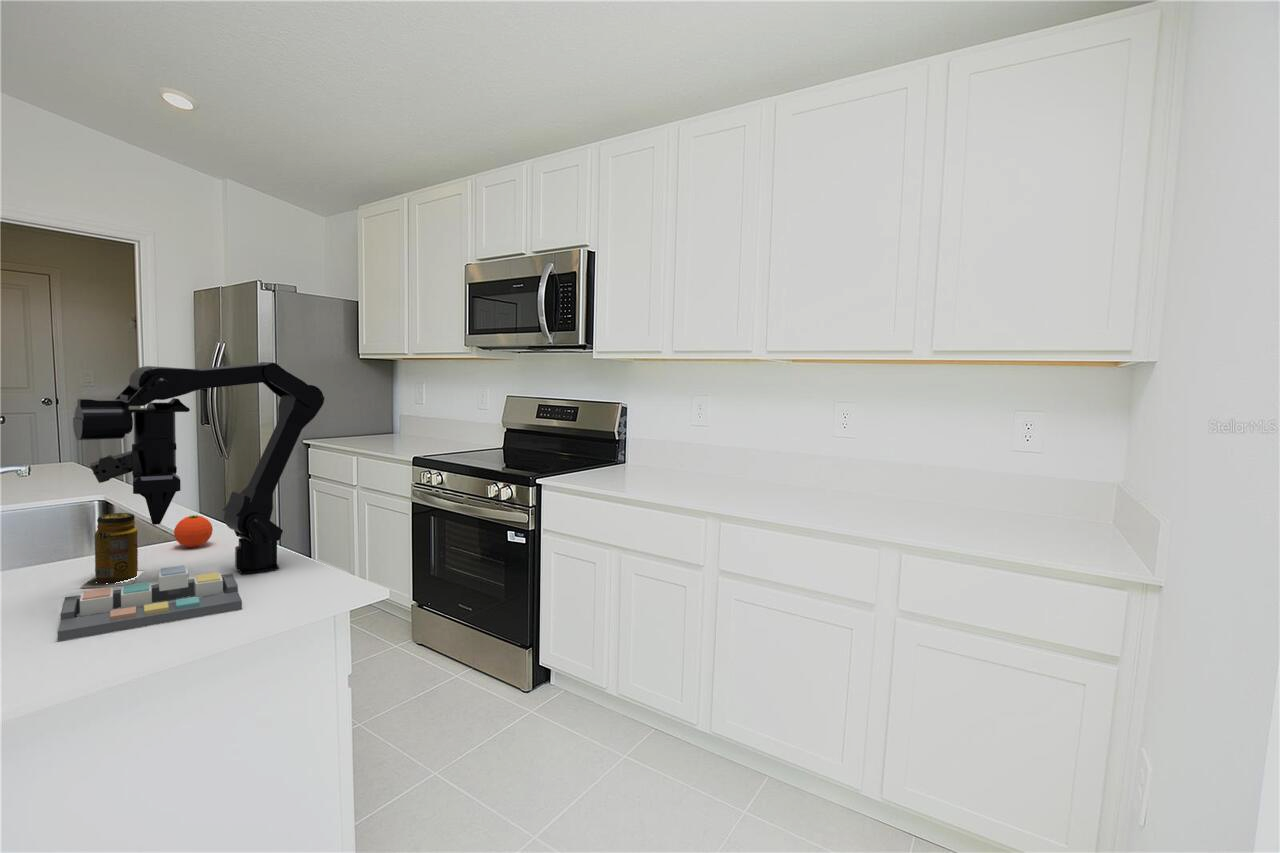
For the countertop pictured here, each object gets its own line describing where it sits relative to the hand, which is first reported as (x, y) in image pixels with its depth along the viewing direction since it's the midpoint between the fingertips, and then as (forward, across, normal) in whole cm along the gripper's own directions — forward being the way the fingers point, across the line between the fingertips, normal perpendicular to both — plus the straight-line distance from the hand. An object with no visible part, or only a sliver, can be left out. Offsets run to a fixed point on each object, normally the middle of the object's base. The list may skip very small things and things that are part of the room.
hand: (156, 524), depth 107 cm
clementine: (+12, -28, +7) cm, 31 cm away
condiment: (+12, -10, -6) cm, 17 cm away
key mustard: (+12, +10, +7) cm, 17 cm away
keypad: (+12, +11, 0) cm, 16 cm away
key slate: (+10, +10, +2) cm, 14 cm away
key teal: (+12, +10, -3) cm, 16 cm away
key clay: (+12, +10, -8) cm, 17 cm away
